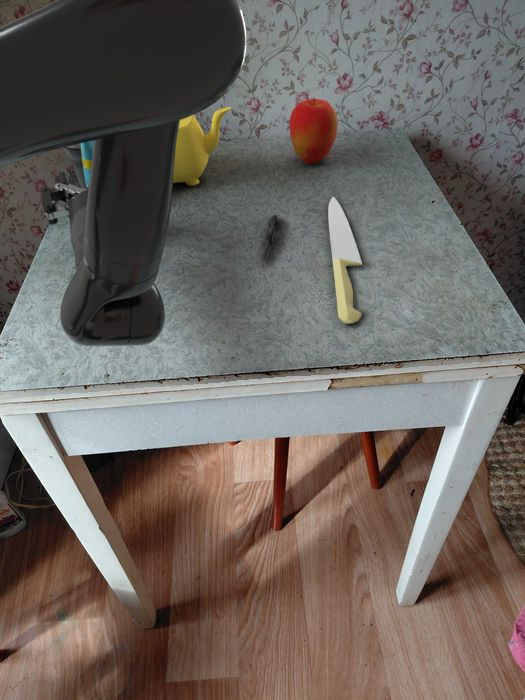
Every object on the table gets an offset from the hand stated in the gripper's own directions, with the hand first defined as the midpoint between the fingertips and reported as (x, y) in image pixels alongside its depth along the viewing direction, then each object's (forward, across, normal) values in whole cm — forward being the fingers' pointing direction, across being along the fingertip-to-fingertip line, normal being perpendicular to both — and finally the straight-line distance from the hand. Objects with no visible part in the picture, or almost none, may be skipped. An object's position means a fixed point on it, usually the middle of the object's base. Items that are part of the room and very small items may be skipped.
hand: (92, 172), depth 78 cm
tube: (+1, 0, +12) cm, 12 cm away
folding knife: (-9, -24, +12) cm, 29 cm away
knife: (-16, -34, +12) cm, 40 cm away
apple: (+15, -40, +12) cm, 45 cm away
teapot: (+18, -15, +12) cm, 27 cm away
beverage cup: (+13, +1, +12) cm, 18 cm away
